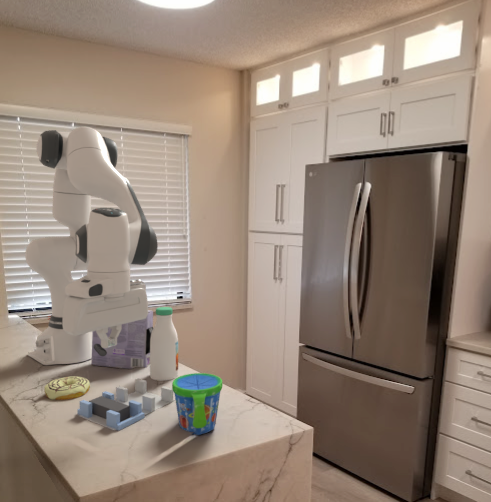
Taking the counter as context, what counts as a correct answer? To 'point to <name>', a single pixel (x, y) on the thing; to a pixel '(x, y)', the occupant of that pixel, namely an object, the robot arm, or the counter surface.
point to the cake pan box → (126, 346)
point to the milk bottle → (164, 347)
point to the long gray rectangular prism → (109, 408)
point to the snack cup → (197, 401)
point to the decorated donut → (67, 388)
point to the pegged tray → (137, 401)
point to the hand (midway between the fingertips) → (109, 346)
